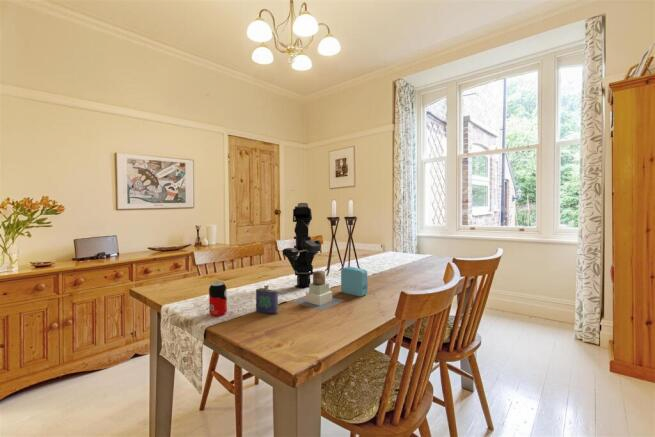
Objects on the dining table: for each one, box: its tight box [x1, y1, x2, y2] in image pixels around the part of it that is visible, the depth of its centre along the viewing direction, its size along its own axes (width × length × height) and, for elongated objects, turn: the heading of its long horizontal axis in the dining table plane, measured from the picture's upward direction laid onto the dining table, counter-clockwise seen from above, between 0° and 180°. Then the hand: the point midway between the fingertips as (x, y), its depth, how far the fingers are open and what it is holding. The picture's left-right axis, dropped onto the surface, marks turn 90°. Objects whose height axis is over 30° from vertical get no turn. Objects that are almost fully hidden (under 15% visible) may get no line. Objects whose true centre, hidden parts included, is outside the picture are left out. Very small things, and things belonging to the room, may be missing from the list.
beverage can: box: [208, 281, 228, 317], centre depth 117 cm, size 6×6×12 cm
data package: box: [340, 266, 368, 297], centre depth 142 cm, size 12×4×12 cm, turn 50°
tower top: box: [308, 282, 330, 295], centre depth 131 cm, size 6×6×4 cm
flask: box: [255, 284, 279, 315], centre depth 119 cm, size 9×3×11 cm, turn 74°
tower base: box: [305, 290, 333, 306], centre depth 131 cm, size 8×8×4 cm
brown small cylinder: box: [312, 270, 326, 285], centre depth 130 cm, size 5×5×5 cm
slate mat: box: [293, 296, 346, 312], centre depth 131 cm, size 16×16×1 cm
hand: (302, 269), depth 137 cm, fingers open, 9 cm apart
